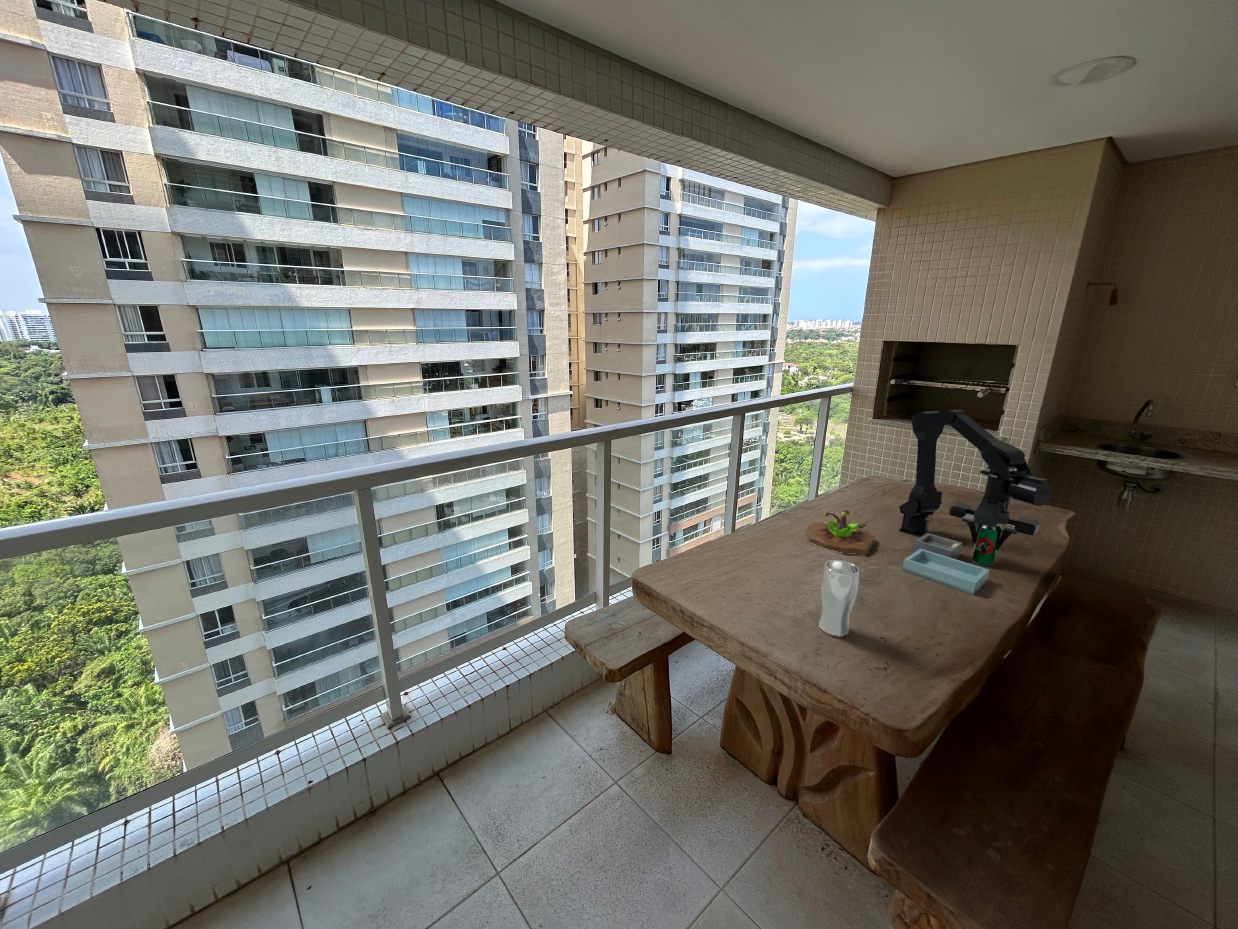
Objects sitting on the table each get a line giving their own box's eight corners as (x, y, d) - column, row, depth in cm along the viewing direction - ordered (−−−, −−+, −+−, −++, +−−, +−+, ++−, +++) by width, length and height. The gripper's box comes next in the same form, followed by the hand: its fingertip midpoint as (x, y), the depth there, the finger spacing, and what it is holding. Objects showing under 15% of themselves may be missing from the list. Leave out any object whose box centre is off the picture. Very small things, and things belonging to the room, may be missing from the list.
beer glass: (810, 620, 102) (817, 559, 98) (839, 619, 102) (848, 558, 98) (826, 640, 95) (835, 575, 91) (858, 638, 95) (867, 574, 92)
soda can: (997, 567, 125) (1007, 527, 122) (977, 566, 126) (985, 526, 123) (987, 559, 130) (996, 520, 127) (967, 558, 131) (975, 519, 128)
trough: (902, 570, 124) (904, 559, 123) (918, 559, 130) (920, 548, 129) (972, 595, 112) (975, 583, 111) (986, 581, 118) (989, 569, 117)
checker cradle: (913, 553, 134) (915, 539, 133) (925, 545, 139) (927, 531, 138) (948, 564, 127) (951, 550, 126) (959, 555, 132) (962, 541, 131)
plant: (801, 546, 139) (805, 512, 136) (808, 525, 156) (812, 494, 153) (875, 561, 130) (881, 525, 127) (875, 536, 146) (880, 504, 143)
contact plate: (920, 550, 133) (921, 545, 133) (929, 544, 137) (929, 540, 137) (945, 557, 129) (946, 553, 128) (953, 552, 132) (954, 547, 132)
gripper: (946, 491, 125) (936, 542, 129) (1035, 509, 111) (1021, 567, 115) (960, 483, 131) (950, 533, 136) (1046, 500, 117) (1032, 555, 121)
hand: (985, 546), depth 127 cm, fingers closed on soda can, 5 cm apart
